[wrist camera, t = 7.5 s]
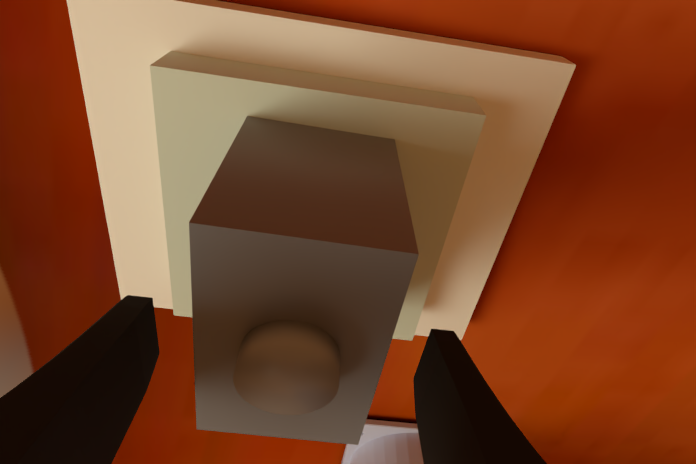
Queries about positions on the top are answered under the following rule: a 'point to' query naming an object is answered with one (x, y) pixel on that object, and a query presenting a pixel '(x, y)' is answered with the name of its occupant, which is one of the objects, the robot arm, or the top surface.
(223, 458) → the top surface
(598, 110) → the top surface
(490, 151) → the stand
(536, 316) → the top surface
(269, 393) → the housing
